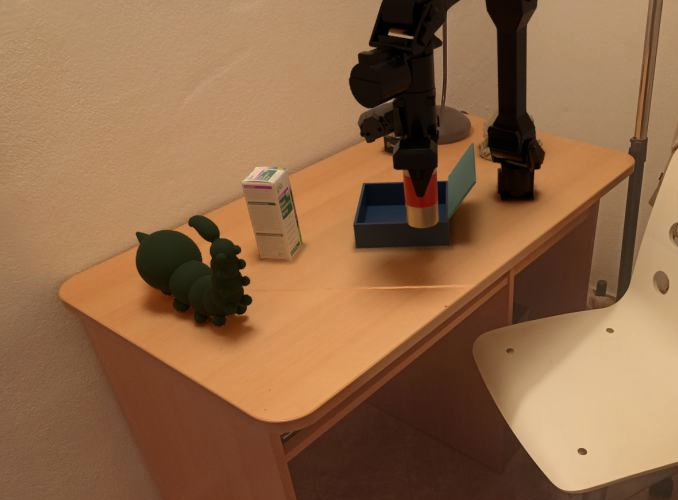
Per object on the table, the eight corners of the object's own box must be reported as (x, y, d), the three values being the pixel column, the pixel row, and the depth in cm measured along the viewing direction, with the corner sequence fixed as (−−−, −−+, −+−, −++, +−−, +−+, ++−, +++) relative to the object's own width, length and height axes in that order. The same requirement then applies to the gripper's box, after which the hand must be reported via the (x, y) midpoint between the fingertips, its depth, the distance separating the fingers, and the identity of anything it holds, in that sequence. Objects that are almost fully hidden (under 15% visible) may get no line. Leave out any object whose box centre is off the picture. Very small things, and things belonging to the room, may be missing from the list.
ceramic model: (472, 160, 144) (472, 113, 138) (482, 140, 152) (482, 95, 146) (539, 164, 141) (541, 117, 135) (544, 143, 150) (547, 98, 143)
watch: (378, 152, 149) (373, 102, 142) (402, 141, 154) (399, 92, 147) (397, 158, 146) (393, 108, 139) (421, 146, 151) (418, 96, 144)
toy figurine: (274, 326, 103) (174, 263, 114) (255, 218, 90) (145, 159, 101) (223, 358, 97) (124, 288, 108) (196, 247, 85) (86, 181, 96)
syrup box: (291, 262, 114) (275, 182, 105) (259, 259, 115) (240, 180, 106) (303, 245, 119) (288, 167, 109) (272, 242, 120) (254, 165, 111)
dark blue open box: (449, 204, 129) (448, 180, 125) (449, 248, 116) (448, 222, 113) (365, 207, 129) (362, 182, 126) (356, 250, 117) (353, 224, 113)
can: (439, 212, 111) (436, 147, 104) (438, 227, 107) (435, 161, 100) (407, 212, 111) (402, 148, 104) (405, 228, 107) (400, 162, 100)
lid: (447, 176, 125) (449, 177, 125) (447, 217, 112) (449, 219, 113) (472, 142, 121) (473, 143, 121) (474, 181, 108) (476, 182, 108)
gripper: (365, 68, 103) (375, 164, 113) (350, 112, 89) (363, 218, 98) (438, 65, 103) (441, 163, 113) (435, 109, 88) (439, 216, 98)
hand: (421, 188), depth 105 cm, fingers closed on can, 5 cm apart
